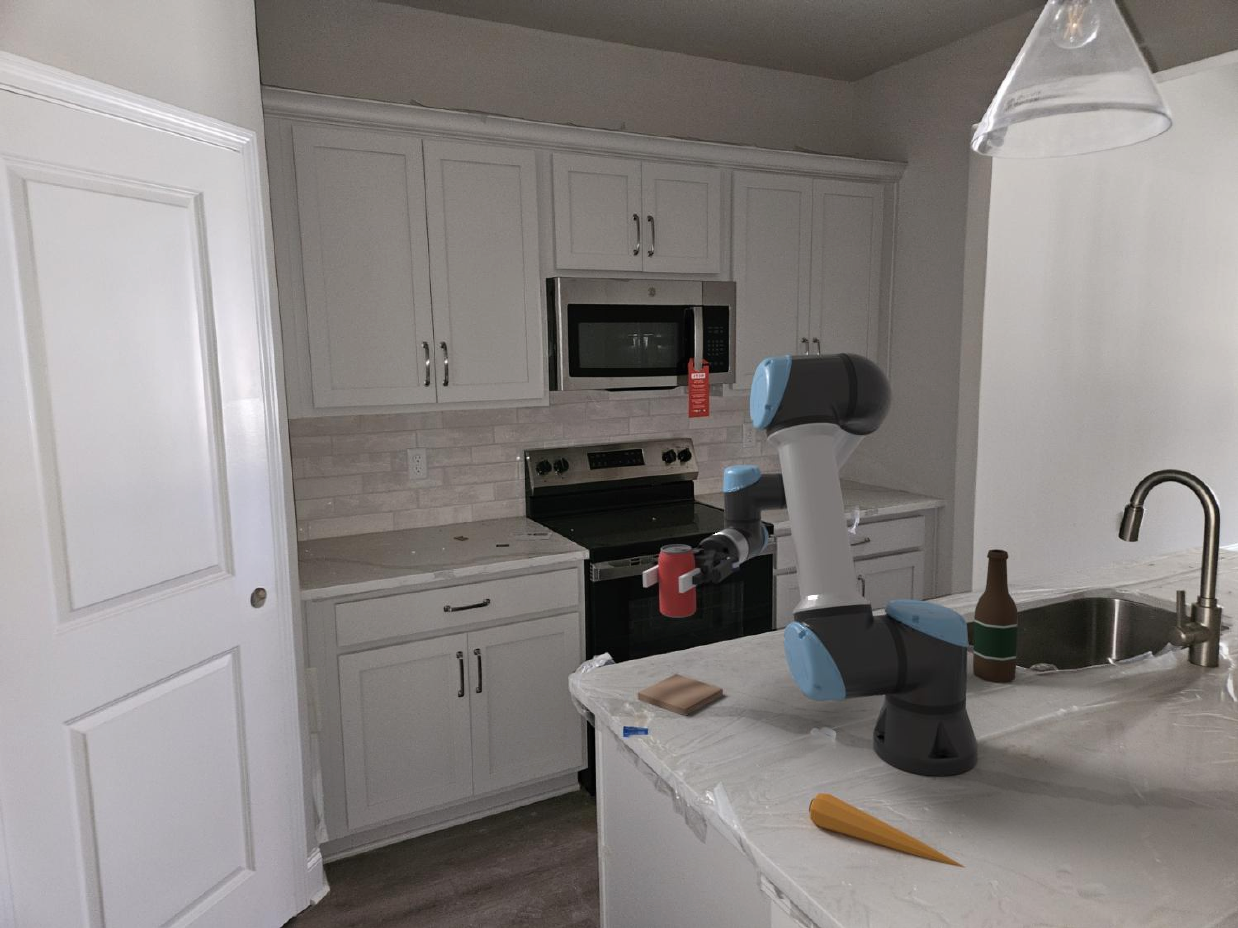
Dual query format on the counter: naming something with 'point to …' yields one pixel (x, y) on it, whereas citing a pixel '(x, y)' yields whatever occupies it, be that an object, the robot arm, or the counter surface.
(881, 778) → the counter surface
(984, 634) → the beer bottle
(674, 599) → the beer can
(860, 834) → the carrot
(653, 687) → the walnut board
